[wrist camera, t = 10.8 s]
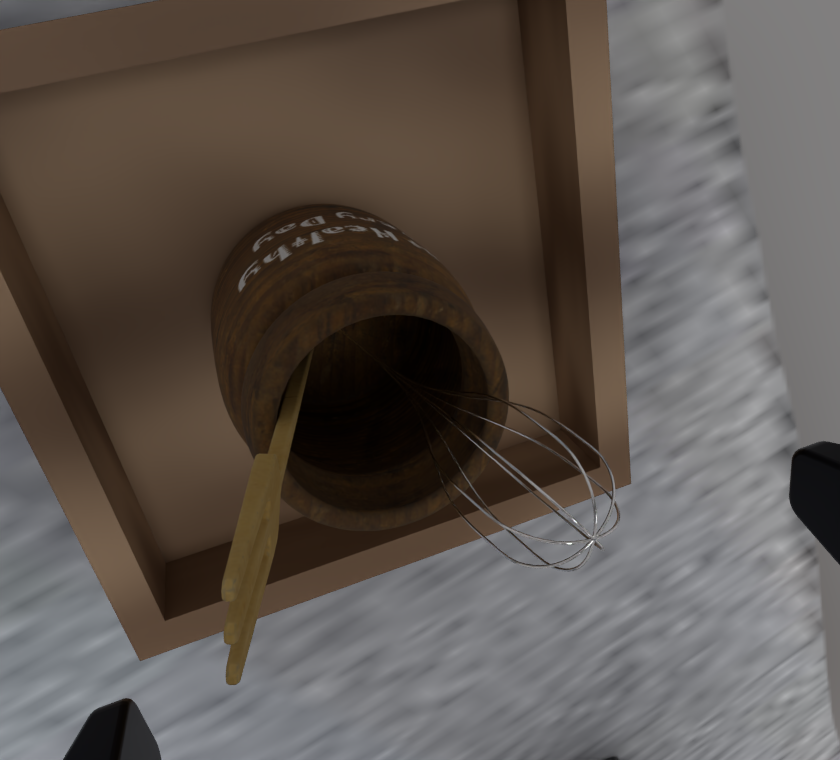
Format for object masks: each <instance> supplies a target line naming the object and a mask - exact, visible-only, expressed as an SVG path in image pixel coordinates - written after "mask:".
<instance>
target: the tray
mask: <svg viewBox="0 0 840 760" xmlns="http://www.w3.org/2000/svg"><path fill="white" fill-rule="evenodd" d="M312 204H337V205H344V206H349V207H353V208H357V209H361V210H363V211H366V212H369V213H371V214H373V215H376V216H378V217H380V218H382V219H383V220H385V221H387V222H389V223H390V224H392V225H393V226H395V227H396V228H398V229H399V230H401V231H402V232H403V233H405V234H406V235H408V236H409V237H410V238H412V239H413V240H414V241H416V242H417V243H418V244H419V245H421V246H422V247H423V248H424V249H426V250H427V251H428V252H429V253H431V254H432V255H433V256H434V257H435V258H436V259H438V260H439V261H440V262H441V263H442V264H443V265H444V266H445V267H446V268H447V269H448V270H449V271H450V273H451V274H452V275H453V276H454V277H455V278H456V280H457V281H458V282H459V284H460V285H461V286H462V288H463V289H464V291H465V292H466V294H467V296H468V298H469V300H470V302H471V304H472V306H473V308H474V310H475V312H476V314H477V315H478V316H479V317H480V319H481V320H482V321H483V323H484V324H485V326H486V327H487V329H488V331H489V332H490V334H491V336H492V338H493V340H494V341H495V343H496V345H497V347H498V350H499V352H500V354H501V356H502V359H503V362H504V365H505V369H506V373H507V378H508V386H509V401H510V402H514V403H519V404H522V405H526V406H529V407H532V408H534V409H536V410H539V411H541V412H543V413H545V414H547V415H549V416H550V417H552V418H554V419H555V420H557V421H558V422H560V423H562V424H563V425H564V426H566V427H567V428H569V429H570V430H571V431H573V432H574V433H575V434H577V435H578V436H579V437H581V438H582V439H583V440H585V441H586V442H587V443H589V444H590V445H591V446H593V447H594V448H595V449H596V450H597V451H598V452H599V453H600V454H601V455H602V456H603V457H604V458H605V460H606V461H607V463H608V465H609V467H610V469H611V472H612V474H613V477H614V482H615V489H618V488H621V487H623V486H626V485H629V484H631V473H630V454H629V434H628V415H627V395H626V375H625V356H624V336H623V317H622V297H621V277H620V258H619V238H618V219H617V199H616V180H615V160H614V140H613V121H612V101H611V82H610V62H609V42H608V23H607V3H606V0H159V1H153V2H148V3H143V4H137V5H132V6H126V7H121V8H116V9H110V10H105V11H99V12H94V13H89V14H83V15H78V16H72V17H67V18H62V19H56V20H51V21H45V22H40V23H35V24H29V25H24V26H18V27H13V28H8V29H2V30H0V387H1V389H2V391H3V393H4V395H5V397H6V399H7V401H8V403H9V405H10V407H11V409H12V411H13V413H14V415H15V417H16V419H17V421H18V423H19V425H20V427H21V429H22V431H23V433H24V434H25V436H26V438H27V440H28V442H29V444H30V446H31V448H32V450H33V452H34V454H35V456H36V458H37V460H38V462H39V464H40V466H41V468H42V470H43V472H44V474H45V476H46V478H47V480H48V482H49V483H50V485H51V487H52V489H53V491H54V493H55V495H56V497H57V499H58V501H59V503H60V505H61V507H62V509H63V511H64V513H65V515H66V517H67V519H68V521H69V523H70V525H71V527H72V529H73V531H74V532H75V534H76V536H77V538H78V540H79V542H80V544H81V546H82V548H83V550H84V552H85V554H86V556H87V558H88V560H89V562H90V564H91V566H92V568H93V570H94V572H95V574H96V576H97V578H98V580H99V581H100V583H101V585H102V587H103V589H104V591H105V593H106V595H107V597H108V599H109V601H110V603H111V605H112V607H113V609H114V611H115V613H116V615H117V617H118V619H119V621H120V623H121V625H122V627H123V629H124V630H125V632H126V634H127V636H128V638H129V640H130V642H131V644H132V646H133V648H134V650H135V652H136V654H137V656H138V658H139V660H140V661H142V660H145V659H147V658H150V657H153V656H156V655H158V654H161V653H164V652H167V651H169V650H172V649H175V648H178V647H181V646H183V645H186V644H189V643H192V642H194V641H197V640H200V639H203V638H205V637H208V636H211V635H214V634H216V633H219V632H222V631H224V625H225V621H226V617H227V612H228V608H229V604H230V602H225V601H223V599H222V593H221V589H222V581H223V577H224V573H225V569H226V565H227V561H228V558H229V554H230V550H231V546H232V542H233V538H234V534H235V530H236V527H237V523H238V519H239V515H240V511H241V507H242V503H243V500H244V496H245V492H246V488H247V484H248V480H249V476H250V472H251V469H252V466H253V463H254V459H253V457H252V455H251V453H250V450H249V447H248V446H247V445H246V443H245V442H244V440H243V439H242V438H241V436H240V435H239V433H238V432H237V430H236V428H235V427H234V425H233V423H232V421H231V419H230V417H229V415H228V412H227V410H226V407H225V404H224V402H223V398H222V395H221V391H220V387H219V383H218V377H217V372H216V366H215V360H214V353H213V345H212V335H211V305H212V298H213V293H214V289H215V285H216V282H217V279H218V277H219V274H220V272H221V269H222V267H223V265H224V263H225V261H226V260H227V258H228V256H229V255H230V253H231V252H232V250H233V249H234V248H235V247H236V245H237V244H238V243H239V242H240V241H241V240H242V239H243V238H244V237H245V236H246V235H247V234H248V233H249V232H250V231H251V230H252V229H254V228H255V227H256V226H258V225H259V224H260V223H262V222H264V221H265V220H267V219H269V218H270V217H272V216H274V215H276V214H279V213H281V212H283V211H286V210H289V209H292V208H296V207H300V206H305V205H312ZM514 406H516V407H517V408H519V409H520V410H522V411H523V412H525V413H526V414H527V415H529V416H530V417H532V418H533V419H534V420H536V421H537V422H538V423H540V424H541V425H542V426H544V427H545V428H546V429H547V430H549V431H550V432H551V433H553V434H554V435H555V436H556V437H558V438H559V439H560V440H561V441H562V442H563V443H564V444H566V446H567V447H568V448H569V449H570V450H571V451H572V452H573V454H574V455H575V456H576V458H577V459H578V461H579V462H580V464H581V466H582V468H583V469H584V471H585V473H586V474H587V475H588V476H590V477H591V478H592V479H594V480H595V481H596V482H597V483H599V484H600V485H601V486H602V487H603V488H605V489H606V490H607V491H608V492H610V491H612V482H611V478H610V475H609V472H608V469H607V467H606V465H605V464H604V462H603V461H602V459H601V458H600V457H599V456H598V455H597V454H596V453H595V452H594V451H593V450H592V449H591V448H590V447H588V446H587V445H586V444H584V443H583V442H582V441H580V440H579V439H578V438H576V437H575V436H574V435H572V434H571V433H570V432H568V431H567V430H566V429H564V428H563V427H561V426H560V425H558V424H557V423H555V422H554V421H552V420H551V419H549V418H547V417H545V416H543V415H541V414H540V413H537V412H535V411H532V410H530V409H527V408H524V407H521V406H517V405H514ZM505 426H507V427H509V428H511V429H513V430H516V431H518V432H520V433H522V434H525V435H527V436H529V437H531V438H533V439H535V440H537V441H539V442H541V443H542V444H544V445H546V446H548V447H549V448H551V449H552V450H554V451H556V452H557V453H559V454H560V455H562V456H563V457H564V458H566V459H567V460H569V461H570V462H571V463H573V464H574V465H575V466H577V467H578V465H577V463H576V462H575V460H574V459H573V457H572V456H571V455H570V453H569V452H568V451H567V450H566V449H565V448H564V447H563V446H562V445H561V444H560V443H559V442H558V441H557V440H556V439H554V438H553V437H552V436H551V435H549V434H548V433H547V432H545V431H544V430H543V429H542V428H540V427H539V426H538V425H536V424H535V423H534V422H532V421H531V420H530V419H528V418H527V417H526V416H524V415H523V414H521V413H520V412H518V411H517V410H515V409H514V408H512V407H510V406H508V414H507V420H506V424H505ZM496 452H498V453H499V454H500V455H501V456H502V457H504V458H505V459H506V460H507V461H509V462H510V463H511V464H512V465H513V466H515V467H516V468H517V469H518V470H519V471H521V472H522V473H523V474H524V475H525V476H527V477H528V478H529V479H530V480H531V481H533V482H534V483H535V484H536V485H537V486H538V487H540V488H541V489H542V490H543V491H544V492H545V493H546V494H548V495H549V496H550V497H551V498H552V499H553V500H554V501H556V502H557V503H558V504H559V505H560V506H561V507H562V508H565V507H568V506H571V505H574V504H576V503H579V502H582V501H585V500H587V499H590V498H591V495H590V491H589V488H588V485H587V483H586V480H585V478H584V476H583V474H582V473H580V472H579V471H578V470H577V469H575V468H574V467H573V466H571V465H570V464H569V463H567V462H566V461H564V460H563V459H562V458H560V457H559V456H557V455H556V454H554V453H553V452H551V451H550V450H548V449H546V448H544V447H543V446H541V445H539V444H537V443H535V442H534V441H532V440H530V439H528V438H525V437H523V436H521V435H519V434H517V433H515V432H512V431H510V430H508V429H505V428H504V431H503V434H502V437H501V440H500V442H499V444H498V447H497V449H496ZM492 457H493V458H494V459H496V460H497V461H498V462H499V463H500V464H501V465H503V466H504V467H505V468H506V469H507V470H508V471H510V472H511V473H512V474H513V475H514V476H515V477H517V478H518V479H519V480H520V481H521V482H523V483H524V484H525V485H526V486H527V487H528V488H530V489H531V490H532V491H533V492H534V493H536V494H537V495H538V496H539V497H540V498H542V499H543V500H544V501H545V502H546V503H548V504H549V505H550V506H551V507H552V508H554V509H555V510H556V511H557V510H560V509H559V508H558V507H557V506H556V505H554V504H553V503H552V502H551V501H550V500H549V499H548V498H546V497H545V496H544V495H543V494H542V493H541V492H540V491H538V490H537V489H536V488H535V487H534V486H533V485H531V484H530V483H529V482H528V481H527V480H526V479H524V478H523V477H522V476H521V475H520V474H518V473H517V472H516V471H515V470H514V469H512V468H511V467H510V466H509V465H508V464H506V463H505V462H504V461H503V460H502V459H500V458H499V457H498V456H497V455H495V454H494V455H493V456H492ZM578 468H579V467H578ZM579 469H580V468H579ZM588 480H589V479H588ZM589 482H590V485H591V488H592V490H593V494H594V497H596V496H598V495H601V494H604V493H605V492H604V491H603V490H602V489H600V488H599V487H598V486H597V485H596V484H594V483H593V482H592V481H591V480H589ZM472 486H473V488H474V489H475V491H476V492H477V494H478V495H479V497H480V498H481V499H482V501H483V502H484V503H485V505H486V506H487V507H488V508H489V509H490V511H491V512H492V513H493V514H494V515H495V516H496V517H497V518H498V520H499V521H500V522H501V523H503V524H504V525H506V526H508V527H513V526H515V525H518V524H521V523H524V522H527V521H529V520H532V519H535V518H538V517H540V516H543V515H546V514H549V513H551V512H553V511H552V510H551V509H550V508H549V507H547V506H546V505H545V504H544V503H543V502H541V501H540V500H539V499H538V498H537V497H535V496H534V495H533V494H532V493H531V492H530V491H528V490H527V489H526V488H525V487H524V486H522V485H521V484H520V483H519V482H518V481H517V480H515V479H514V478H513V477H512V476H511V475H510V474H508V473H507V472H506V471H505V470H504V469H503V468H501V467H500V466H499V465H498V464H497V463H496V462H494V461H493V460H492V459H491V460H490V461H489V463H488V464H487V466H486V467H485V469H484V470H483V472H482V473H481V474H480V475H479V477H478V478H477V479H476V480H475V481H474V482H473V483H472ZM464 492H465V493H466V494H467V495H468V496H469V497H471V498H472V499H473V500H474V501H475V502H476V503H477V504H479V505H480V506H481V507H482V508H483V509H484V510H485V511H487V510H486V508H485V507H484V506H483V505H482V503H481V502H480V501H479V499H478V498H477V496H476V495H475V494H474V492H473V491H472V489H471V488H470V487H469V488H467V489H466V490H465V491H464ZM453 502H454V504H455V505H456V507H457V508H458V509H459V510H460V512H461V513H462V514H463V515H464V516H465V518H466V519H467V520H468V521H469V522H470V523H471V524H472V525H473V526H474V527H475V528H476V529H477V530H478V531H479V532H480V533H482V534H483V535H484V536H488V535H491V534H493V533H496V532H499V531H502V530H504V528H503V527H502V526H500V525H499V524H497V523H496V522H495V521H493V520H492V519H491V518H489V517H488V516H487V515H486V514H484V513H483V512H482V511H481V510H480V509H479V508H478V507H477V506H475V505H474V504H473V503H472V502H471V501H470V500H469V499H468V498H466V497H465V496H464V495H463V494H461V495H460V496H459V497H457V498H456V499H455V500H453ZM487 512H488V511H487ZM488 513H489V512H488ZM489 514H490V513H489ZM490 515H491V514H490ZM479 538H482V537H481V536H480V535H479V534H478V533H477V532H476V531H475V530H474V529H472V528H471V527H470V526H469V524H468V523H467V522H466V521H465V520H464V519H463V518H462V517H461V516H460V514H459V513H458V512H457V511H456V509H455V508H454V507H453V505H452V504H451V503H449V504H448V505H447V506H445V507H443V508H442V509H440V510H439V511H437V512H435V513H433V514H431V515H429V516H427V517H425V518H423V519H421V520H418V521H416V522H413V523H410V524H407V525H404V526H400V527H396V528H391V529H385V530H378V531H352V530H344V529H338V528H334V527H330V526H327V525H324V524H321V523H318V522H316V521H313V520H311V519H309V518H307V517H306V516H304V515H302V514H300V513H299V512H297V511H296V510H294V509H293V508H292V507H290V506H289V505H288V504H287V503H286V502H285V501H284V500H282V499H281V498H280V513H279V530H278V539H277V544H276V548H275V553H274V557H273V560H272V564H271V568H270V572H269V575H268V579H267V583H266V587H265V590H264V594H263V598H262V601H261V605H260V609H259V613H258V616H257V619H258V618H261V617H264V616H266V615H269V614H272V613H275V612H277V611H280V610H283V609H286V608H288V607H291V606H294V605H297V604H300V603H302V602H305V601H308V600H311V599H313V598H316V597H319V596H322V595H324V594H327V593H330V592H333V591H336V590H338V589H341V588H344V587H347V586H349V585H352V584H355V583H358V582H360V581H363V580H366V579H369V578H371V577H374V576H377V575H380V574H383V573H385V572H388V571H391V570H394V569H396V568H399V567H402V566H405V565H407V564H410V563H413V562H416V561H419V560H421V559H424V558H427V557H430V556H432V555H435V554H438V553H441V552H443V551H446V550H449V549H452V548H455V547H457V546H460V545H463V544H466V543H468V542H471V541H474V540H477V539H479Z"/></svg>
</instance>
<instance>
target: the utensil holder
mask: <svg viewBox="0 0 840 760" xmlns="http://www.w3.org/2000/svg"><path fill="white" fill-rule="evenodd" d="M211 335H212V345H213V353H214V360H215V366H216V372H217V377H218V383H219V387H220V391H221V395H222V398H223V402H224V404H225V407H226V410H227V412H228V415H229V417H230V419H231V421H232V423H233V425H234V427H235V428H236V430H237V432H238V433H239V435H240V436H241V438H242V439H243V440H244V442H245V443H246V445H247V446H248V447H249V450H250V453H251V455H252V457H253V459H254V463H253V466H252V469H251V472H250V476H249V480H248V484H247V488H246V492H245V496H244V500H243V503H242V507H241V511H240V515H239V519H238V523H237V527H236V530H235V534H234V538H233V542H232V546H231V550H230V554H229V558H228V561H227V565H226V569H225V573H224V577H223V581H222V589H221V593H222V599H223V601H225V602H230V604H229V608H228V612H227V617H226V621H225V625H224V642H225V643H226V644H230V645H231V648H230V652H229V657H228V662H227V667H226V682H227V684H229V685H236V684H237V683H239V682H240V680H241V676H242V672H243V668H244V665H245V661H246V657H247V654H248V650H249V646H250V642H251V639H252V635H253V631H254V628H255V624H256V620H257V616H258V613H259V609H260V605H261V601H262V598H263V594H264V590H265V587H266V583H267V579H268V575H269V572H270V568H271V564H272V560H273V557H274V553H275V548H276V544H277V539H278V530H279V513H280V498H281V499H282V500H284V501H285V502H286V503H287V504H288V505H289V506H290V507H292V508H293V509H294V510H296V511H297V512H299V513H300V514H302V515H304V516H306V517H307V518H309V519H311V520H313V521H316V522H318V523H321V524H324V525H327V526H330V527H334V528H338V529H344V530H352V531H378V530H385V529H391V528H396V527H400V526H404V525H407V524H410V523H413V522H416V521H418V520H421V519H423V518H425V517H427V516H429V515H431V514H433V513H435V512H437V511H439V510H440V509H442V508H443V507H445V506H447V505H448V504H449V503H451V504H452V505H453V507H454V508H455V509H456V511H457V512H458V513H459V514H460V516H461V517H462V518H463V519H464V520H465V521H466V522H467V523H468V524H469V526H470V527H471V528H472V529H474V530H475V531H476V532H477V533H478V534H479V535H480V536H481V537H482V538H483V539H484V540H485V541H486V542H487V543H489V544H490V545H491V546H492V547H493V548H494V549H495V550H496V551H497V552H499V553H500V554H501V555H503V556H504V557H505V558H506V559H508V560H510V561H511V562H513V563H516V564H518V565H521V566H525V567H530V568H550V567H551V568H553V569H556V570H559V571H565V572H569V571H574V570H577V569H579V568H580V567H582V566H583V565H584V564H585V563H586V562H587V560H588V559H589V557H590V555H591V553H592V550H593V547H594V545H595V546H596V547H597V548H599V549H600V550H602V551H605V548H604V547H603V546H602V545H601V543H600V542H599V541H598V540H597V539H600V538H602V537H605V536H606V535H608V534H610V533H611V532H612V531H614V530H615V528H616V527H617V526H618V524H619V521H620V511H619V507H618V505H617V503H616V501H615V482H614V477H613V474H612V472H611V469H610V467H609V465H608V463H607V461H606V460H605V458H604V457H603V456H602V455H601V454H600V453H599V452H598V451H597V450H596V449H595V448H594V447H593V446H591V445H590V444H589V443H587V442H586V441H585V440H583V439H582V438H581V437H579V436H578V435H577V434H575V433H574V432H573V431H571V430H570V429H569V428H567V427H566V426H564V425H563V424H562V423H560V422H558V421H557V420H555V419H554V418H552V417H550V416H549V415H547V414H545V413H543V412H541V411H539V410H536V409H534V408H532V407H529V406H526V405H522V404H519V403H514V402H510V401H509V386H508V378H507V373H506V369H505V365H504V362H503V359H502V356H501V354H500V352H499V350H498V347H497V345H496V343H495V341H494V340H493V338H492V336H491V334H490V332H489V331H488V329H487V327H486V326H485V324H484V323H483V321H482V320H481V319H480V317H479V316H478V315H477V314H476V312H475V310H474V308H473V306H472V304H471V302H470V300H469V298H468V296H467V294H466V292H465V291H464V289H463V288H462V286H461V285H460V284H459V282H458V281H457V280H456V278H455V277H454V276H453V275H452V274H451V273H450V271H449V270H448V269H447V268H446V267H445V266H444V265H443V264H442V263H441V262H440V261H439V260H438V259H436V258H435V257H434V256H433V255H432V254H431V253H429V252H428V251H427V250H426V249H424V248H423V247H422V246H421V245H419V244H418V243H417V242H416V241H414V240H413V239H412V238H410V237H409V236H408V235H406V234H405V233H403V232H402V231H401V230H399V229H398V228H396V227H395V226H393V225H392V224H390V223H389V222H387V221H385V220H383V219H382V218H380V217H378V216H376V215H373V214H371V213H369V212H366V211H363V210H361V209H357V208H353V207H349V206H344V205H337V204H312V205H305V206H300V207H296V208H292V209H289V210H286V211H283V212H281V213H279V214H276V215H274V216H272V217H270V218H269V219H267V220H265V221H264V222H262V223H260V224H259V225H258V226H256V227H255V228H254V229H252V230H251V231H250V232H249V233H248V234H247V235H246V236H245V237H244V238H243V239H242V240H241V241H240V242H239V243H238V244H237V245H236V247H235V248H234V249H233V250H232V252H231V253H230V255H229V256H228V258H227V260H226V261H225V263H224V265H223V267H222V269H221V272H220V274H219V277H218V279H217V282H216V285H215V289H214V293H213V298H212V305H211ZM514 405H517V406H521V407H524V408H527V409H530V410H532V411H535V412H537V413H540V414H541V415H543V416H545V417H547V418H549V419H551V420H552V421H554V422H555V423H557V424H558V425H560V426H561V427H563V428H564V429H566V430H567V431H568V432H570V433H571V434H572V435H574V436H575V437H576V438H578V439H579V440H580V441H582V442H583V443H584V444H586V445H587V446H588V447H590V448H591V449H592V450H593V451H594V452H595V453H596V454H597V455H598V456H599V457H600V458H601V459H602V461H603V462H604V464H605V465H606V467H607V469H608V472H609V475H610V478H611V482H612V495H611V494H610V493H609V492H608V491H607V490H606V489H605V488H603V487H602V486H601V485H600V484H599V483H597V482H596V481H595V480H594V479H592V478H591V477H590V476H588V475H587V474H586V473H585V471H584V469H583V468H582V466H581V464H580V462H579V461H578V459H577V458H576V456H575V455H574V454H573V452H572V451H571V450H570V449H569V448H568V447H567V446H566V444H564V443H563V442H562V441H561V440H560V439H559V438H558V437H556V436H555V435H554V434H553V433H551V432H550V431H549V430H547V429H546V428H545V427H544V426H542V425H541V424H540V423H538V422H537V421H536V420H534V419H533V418H532V417H530V416H529V415H527V414H526V413H525V412H523V411H522V410H520V409H519V408H517V407H516V406H514ZM508 406H510V407H512V408H514V409H515V410H517V411H518V412H520V413H521V414H523V415H524V416H526V417H527V418H528V419H530V420H531V421H532V422H534V423H535V424H536V425H538V426H539V427H540V428H542V429H543V430H544V431H545V432H547V433H548V434H549V435H551V436H552V437H553V438H554V439H556V440H557V441H558V442H559V443H560V444H561V445H562V446H563V447H564V448H565V449H566V450H567V451H568V452H569V453H570V455H571V456H572V457H573V459H574V460H575V462H576V463H577V465H578V467H579V468H580V469H579V468H578V467H577V466H575V465H574V464H573V463H571V462H570V461H569V460H567V459H566V458H564V457H563V456H562V455H560V454H559V453H557V452H556V451H554V450H552V449H551V448H549V447H548V446H546V445H544V444H542V443H541V442H539V441H537V440H535V439H533V438H531V437H529V436H527V435H525V434H522V433H520V432H518V431H516V430H513V429H511V428H509V427H507V426H505V424H506V420H507V414H508ZM504 428H505V429H508V430H510V431H512V432H515V433H517V434H519V435H521V436H523V437H525V438H528V439H530V440H532V441H534V442H535V443H537V444H539V445H541V446H543V447H544V448H546V449H548V450H550V451H551V452H553V453H554V454H556V455H557V456H559V457H560V458H562V459H563V460H564V461H566V462H567V463H569V464H570V465H571V466H573V467H574V468H575V469H577V470H578V471H579V472H580V473H582V474H583V476H584V478H585V480H586V483H587V485H588V488H589V491H590V495H591V498H592V503H593V509H594V531H593V535H592V534H590V533H589V532H588V531H587V530H586V529H585V528H584V527H583V526H582V525H581V524H580V523H579V522H578V521H577V520H576V519H575V518H573V517H572V516H571V515H570V514H569V513H568V512H567V511H566V510H565V509H563V508H562V507H561V506H560V505H559V504H558V503H557V502H556V501H554V500H553V499H552V498H551V497H550V496H549V495H548V494H546V493H545V492H544V491H543V490H542V489H541V488H540V487H538V486H537V485H536V484H535V483H534V482H533V481H531V480H530V479H529V478H528V477H527V476H525V475H524V474H523V473H522V472H521V471H519V470H518V469H517V468H516V467H515V466H513V465H512V464H511V463H510V462H509V461H507V460H506V459H505V458H504V457H502V456H501V455H500V454H499V453H498V452H496V449H497V447H498V444H499V442H500V440H501V437H502V434H503V431H504ZM494 454H495V455H497V456H498V457H499V458H500V459H502V460H503V461H504V462H505V463H506V464H508V465H509V466H510V467H511V468H512V469H514V470H515V471H516V472H517V473H518V474H520V475H521V476H522V477H523V478H524V479H526V480H527V481H528V482H529V483H530V484H531V485H533V486H534V487H535V488H536V489H537V490H538V491H540V492H541V493H542V494H543V495H544V496H545V497H546V498H548V499H549V500H550V501H551V502H552V503H553V504H554V505H556V506H557V507H558V508H559V509H560V510H561V511H562V512H563V513H564V514H566V515H567V516H568V517H569V518H570V519H571V520H572V521H573V522H574V523H575V524H577V525H578V526H579V527H580V528H581V529H582V530H583V531H584V532H585V533H586V534H587V535H588V536H589V537H590V538H589V537H588V536H586V535H585V534H584V533H583V532H582V531H580V530H579V529H578V528H577V527H575V526H574V525H573V524H572V523H571V522H569V521H568V520H567V519H566V518H565V517H563V516H562V515H561V514H560V513H558V512H557V511H556V510H555V509H554V508H552V507H551V506H550V505H549V504H548V503H546V502H545V501H544V500H543V499H542V498H540V497H539V496H538V495H537V494H536V493H534V492H533V491H532V490H531V489H530V488H528V487H527V486H526V485H525V484H524V483H523V482H521V481H520V480H519V479H518V478H517V477H515V476H514V475H513V474H512V473H511V472H510V471H508V470H507V469H506V468H505V467H504V466H503V465H501V464H500V463H499V462H498V461H497V460H496V459H494V458H493V457H492V456H493V455H494ZM491 459H492V460H493V461H494V462H496V463H497V464H498V465H499V466H500V467H501V468H503V469H504V470H505V471H506V472H507V473H508V474H510V475H511V476H512V477H513V478H514V479H515V480H517V481H518V482H519V483H520V484H521V485H522V486H524V487H525V488H526V489H527V490H528V491H530V492H531V493H532V494H533V495H534V496H535V497H537V498H538V499H539V500H540V501H541V502H543V503H544V504H545V505H546V506H547V507H549V508H550V509H551V510H552V511H553V512H555V513H556V514H557V515H558V516H559V517H561V518H562V519H563V520H564V521H565V522H567V523H568V524H569V525H570V526H571V527H573V528H574V529H575V530H576V531H577V532H579V533H580V534H581V535H582V536H583V537H585V538H586V539H585V540H580V541H567V542H564V541H552V540H545V539H540V538H537V537H533V536H530V535H527V534H524V533H521V532H519V531H516V530H514V529H512V528H510V527H508V526H506V525H504V524H503V523H501V522H500V521H499V520H498V518H497V517H496V516H495V515H494V514H493V513H492V512H491V511H490V509H489V508H488V507H487V506H486V505H485V503H484V502H483V501H482V499H481V498H480V497H479V495H478V494H477V492H476V491H475V489H474V488H473V486H472V483H473V482H474V481H475V480H476V479H477V478H478V477H479V475H480V474H481V473H482V472H483V470H484V469H485V467H486V466H487V464H488V463H489V461H490V460H491ZM588 479H589V480H591V481H592V482H593V483H594V484H596V485H597V486H598V487H599V488H600V489H602V490H603V491H604V492H605V493H606V494H607V495H608V496H609V497H610V499H611V500H612V502H611V506H610V510H609V513H608V515H607V517H606V520H605V521H604V523H603V525H602V526H601V528H600V529H599V531H598V532H597V509H596V503H595V498H594V494H593V490H592V488H591V485H590V482H589V480H588ZM469 487H470V488H471V489H472V491H473V492H474V494H475V495H476V496H477V498H478V499H479V501H480V502H481V503H482V505H483V506H484V507H485V508H486V510H487V511H488V512H489V513H490V514H491V515H490V514H489V513H488V512H487V511H485V510H484V509H483V508H482V507H481V506H480V505H479V504H477V503H476V502H475V501H474V500H473V499H472V498H471V497H469V496H468V495H467V494H466V493H465V492H464V491H465V490H466V489H467V488H469ZM461 494H463V495H464V496H465V497H466V498H468V499H469V500H470V501H471V502H472V503H473V504H474V505H475V506H477V507H478V508H479V509H480V510H481V511H482V512H483V513H484V514H486V515H487V516H488V517H489V518H491V519H492V520H493V521H495V522H496V523H497V524H499V525H500V526H502V527H503V528H504V529H505V530H506V531H507V532H508V533H509V534H510V535H511V536H512V537H513V538H515V539H516V540H517V541H518V542H519V543H520V544H521V545H522V546H524V547H525V548H526V549H527V550H528V551H529V552H530V553H531V554H533V555H534V556H535V557H536V558H537V559H539V560H540V561H541V562H543V563H544V564H545V565H530V564H525V563H521V562H518V561H516V560H514V559H512V558H510V557H508V556H507V555H506V554H505V553H503V552H502V551H501V550H499V549H498V548H497V547H496V546H495V545H494V544H493V543H492V542H490V541H489V540H488V539H487V538H486V537H485V536H484V535H483V534H482V533H480V532H479V531H478V530H477V529H476V528H475V527H474V526H473V525H472V524H471V523H470V522H469V521H468V520H467V519H466V518H465V516H464V515H463V514H462V513H461V512H460V510H459V509H458V508H457V507H456V505H455V504H454V502H453V500H455V499H456V498H457V497H459V496H460V495H461ZM614 505H615V507H616V510H617V521H616V523H615V525H614V526H613V527H612V528H611V529H610V530H609V531H607V532H605V533H604V534H602V535H599V534H600V533H601V532H602V531H603V529H604V527H605V526H606V524H607V522H608V521H609V518H610V516H611V514H612V511H613V507H614ZM512 532H514V533H516V534H518V535H521V536H523V537H526V538H529V539H532V540H536V541H540V542H545V543H551V544H562V545H569V544H581V543H586V542H588V543H587V544H586V545H585V546H584V547H583V548H582V549H581V550H580V551H578V552H577V553H576V554H574V555H573V556H571V557H569V558H567V559H565V560H563V561H561V562H558V563H554V564H549V563H547V562H546V561H544V560H543V559H542V558H540V557H539V556H538V555H537V554H535V553H534V552H533V551H532V550H531V549H530V548H529V547H527V546H526V545H525V544H524V543H523V542H522V541H521V540H520V539H518V538H517V537H516V536H515V535H514V534H513V533H512ZM596 532H597V533H596ZM590 545H591V546H590ZM589 546H590V549H589V552H588V554H587V556H586V558H585V559H584V561H583V562H582V563H581V564H580V565H578V566H576V567H574V568H569V569H564V568H559V567H555V566H558V565H561V564H564V563H566V562H568V561H570V560H572V559H574V558H575V557H577V556H578V555H580V554H581V553H582V552H583V551H585V550H586V549H587V548H588V547H589Z"/></svg>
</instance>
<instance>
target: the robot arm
mask: <svg viewBox="0 0 840 760" xmlns="http://www.w3.org/2000/svg"><path fill="white" fill-rule="evenodd" d="M789 500H790V504H791V507H792V509H793V511H794V512H795V514H796V515H797V517H798V518H799V519H800V520H801V521H802V522H803V523H804V525H805V526H806V527H807V528H808V529H809V530H810V531H811V533H812V534H813V535H814V536H815V537H816V538H817V539H818V541H819V542H820V543H821V544H822V545H823V546H824V547H825V549H826V550H827V551H828V552H829V553H830V554H831V556H832V557H833V558H834V559H835V560H836V561H837V562H838V564H839V565H840V444H836V443H832V442H826V441H822V442H817V443H814V444H811V445H809V446H806V447H803V448H800V449H798V450H797V451H796V452H795V453H794V455H793V457H792V464H791V477H790V490H789ZM63 760H161V755H160V751H159V748H158V745H157V742H156V740H155V738H154V736H153V735H152V733H151V731H150V729H149V727H148V725H147V723H146V722H145V720H144V718H143V716H142V714H141V712H140V710H139V708H138V707H137V705H136V703H135V702H134V701H133V700H131V699H128V698H125V699H122V700H119V701H116V702H114V703H111V704H108V705H105V706H103V707H100V708H98V709H96V710H94V711H93V712H92V713H91V714H90V716H89V717H88V719H87V720H86V722H85V724H84V725H83V727H82V729H81V730H80V732H79V734H78V735H77V737H76V739H75V740H74V742H73V744H72V745H71V747H70V749H69V750H68V752H67V754H66V755H65V757H64V759H63Z"/></svg>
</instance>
